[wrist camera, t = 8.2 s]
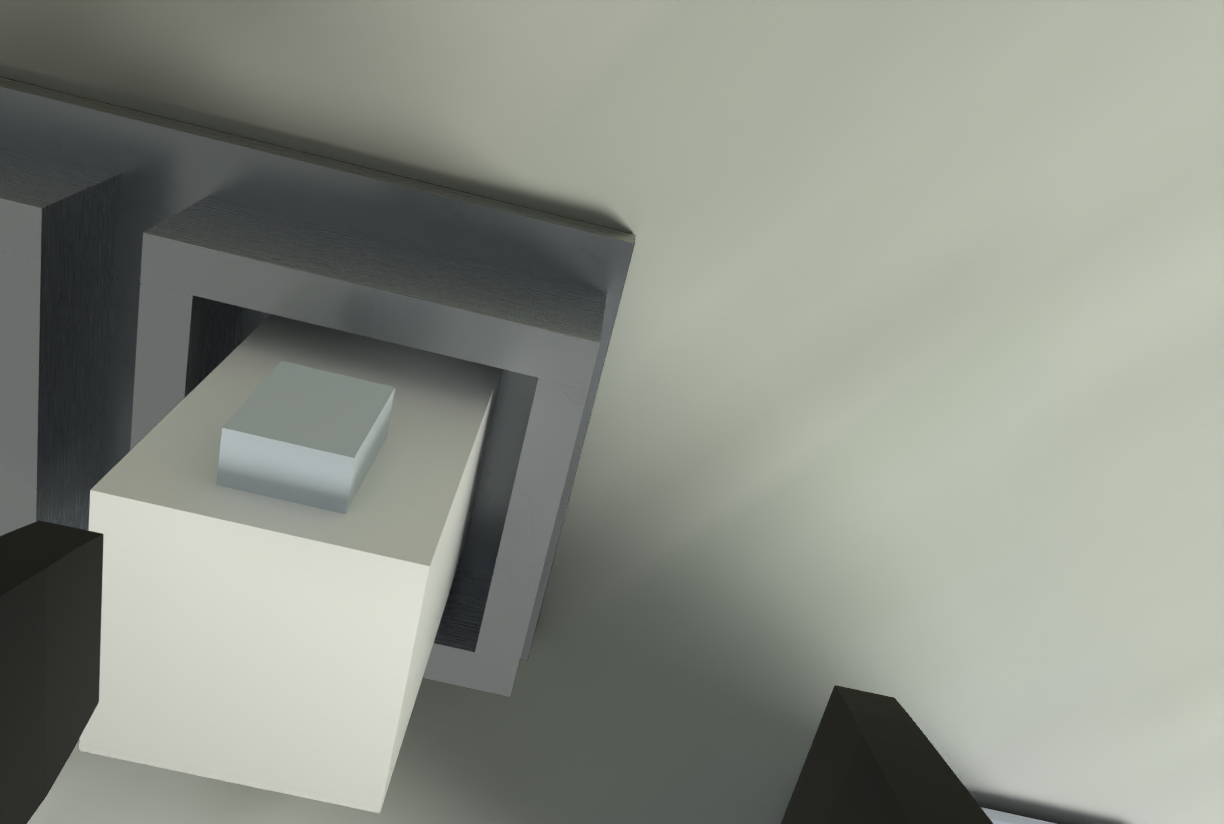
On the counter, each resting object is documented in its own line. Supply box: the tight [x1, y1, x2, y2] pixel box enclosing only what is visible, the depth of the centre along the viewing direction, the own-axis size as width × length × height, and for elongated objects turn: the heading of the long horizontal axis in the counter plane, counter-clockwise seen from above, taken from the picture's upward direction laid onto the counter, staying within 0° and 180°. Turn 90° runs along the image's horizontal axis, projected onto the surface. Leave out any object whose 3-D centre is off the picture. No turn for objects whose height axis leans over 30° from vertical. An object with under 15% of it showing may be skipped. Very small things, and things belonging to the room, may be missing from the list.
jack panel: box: [0, 77, 635, 697], centre depth 18 cm, size 9×16×3 cm, turn 77°
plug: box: [79, 314, 503, 813], centre depth 16 cm, size 5×4×7 cm
